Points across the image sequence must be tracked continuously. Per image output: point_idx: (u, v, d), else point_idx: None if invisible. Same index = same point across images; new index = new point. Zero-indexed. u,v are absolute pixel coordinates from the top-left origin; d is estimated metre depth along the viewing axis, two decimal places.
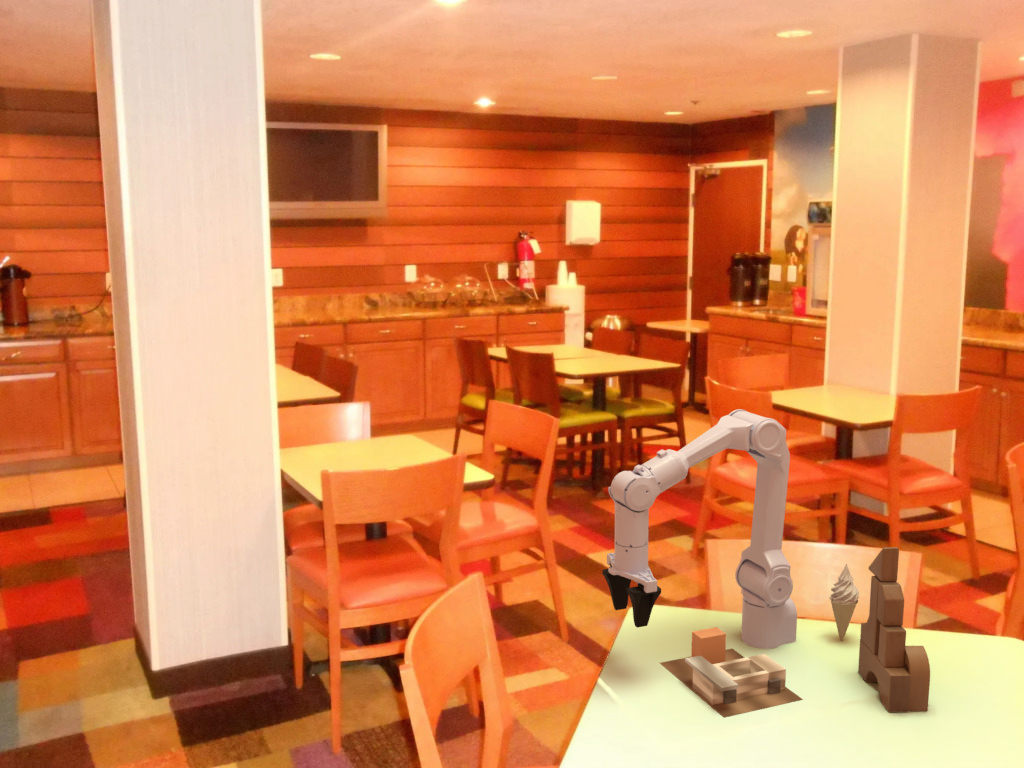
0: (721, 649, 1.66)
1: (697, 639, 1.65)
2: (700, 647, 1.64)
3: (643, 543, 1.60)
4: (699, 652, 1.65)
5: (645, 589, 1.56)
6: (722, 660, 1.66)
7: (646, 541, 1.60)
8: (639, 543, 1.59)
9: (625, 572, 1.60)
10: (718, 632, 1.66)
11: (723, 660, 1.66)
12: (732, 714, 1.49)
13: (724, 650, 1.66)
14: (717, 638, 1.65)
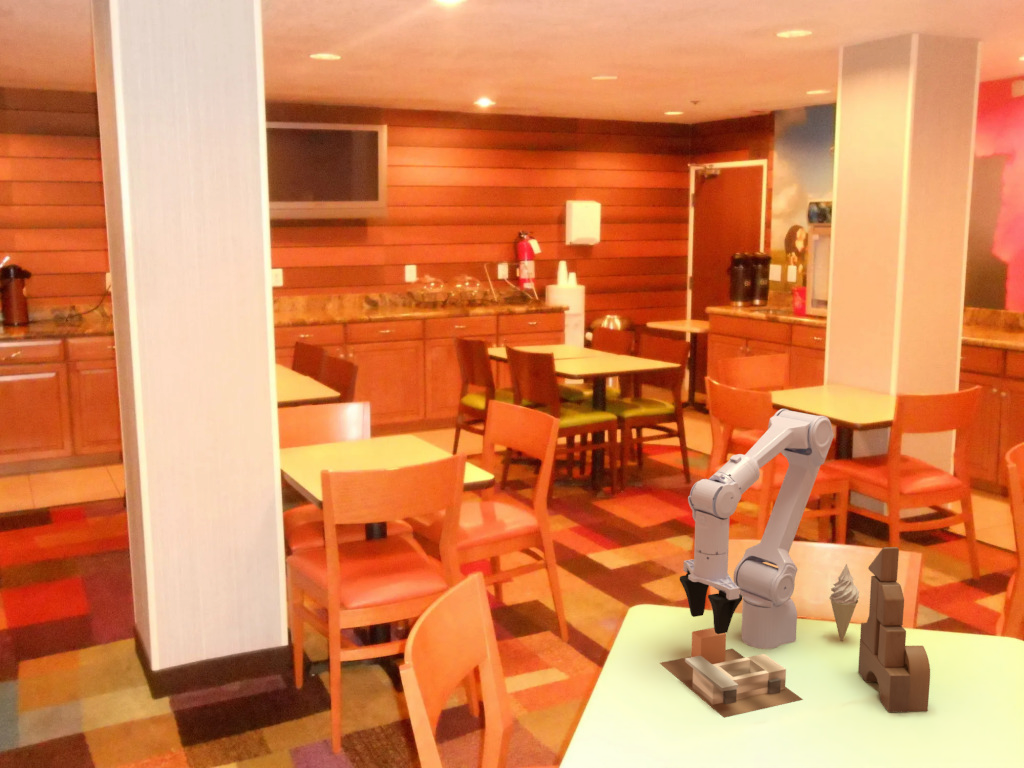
0: (721, 649, 1.66)
1: (697, 639, 1.65)
2: (700, 647, 1.64)
3: (726, 549, 1.62)
4: (699, 652, 1.65)
5: (728, 596, 1.58)
6: (722, 660, 1.66)
7: None
8: (724, 550, 1.61)
9: (706, 579, 1.61)
10: None
11: (723, 660, 1.66)
12: (732, 714, 1.49)
13: (724, 650, 1.66)
14: (717, 638, 1.65)
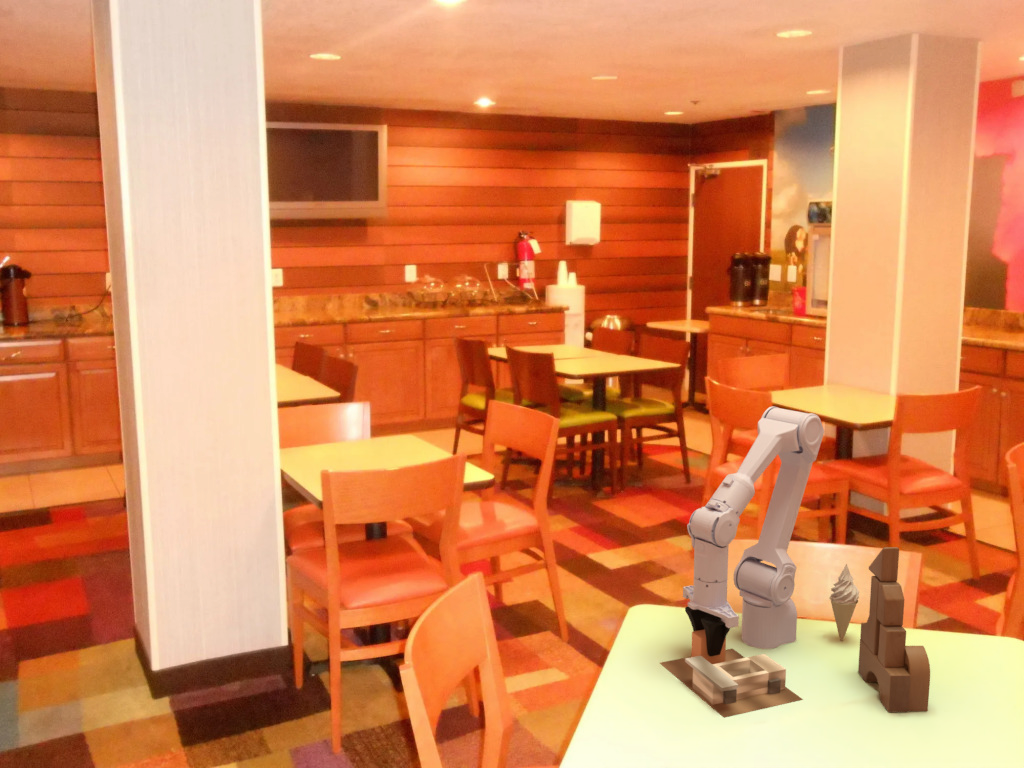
0: None
1: (697, 639, 1.65)
2: (700, 647, 1.64)
3: (726, 577, 1.63)
4: (699, 652, 1.65)
5: (727, 624, 1.59)
6: (722, 660, 1.66)
7: (727, 575, 1.63)
8: (723, 577, 1.62)
9: (705, 607, 1.62)
10: None
11: (723, 660, 1.66)
12: (732, 714, 1.49)
13: (724, 650, 1.66)
14: None
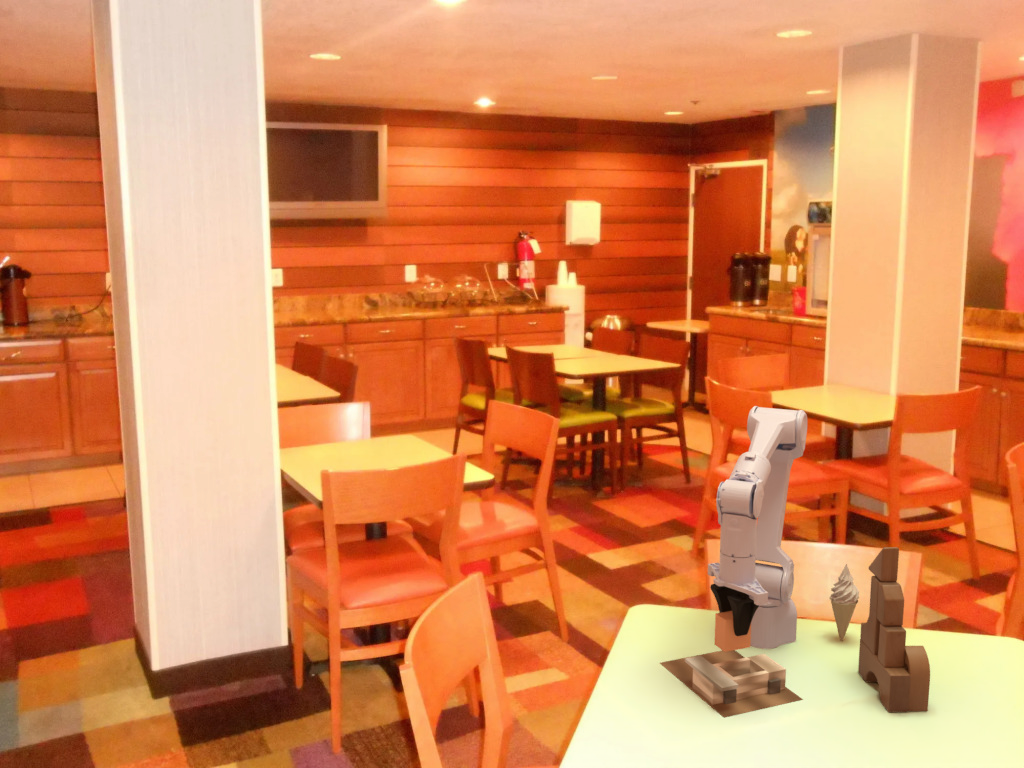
0: None
1: (721, 621, 1.57)
2: (724, 630, 1.56)
3: (755, 550, 1.55)
4: (723, 635, 1.56)
5: (755, 601, 1.50)
6: (747, 644, 1.58)
7: None
8: (755, 551, 1.54)
9: (732, 583, 1.54)
10: None
11: (748, 644, 1.58)
12: (732, 714, 1.49)
13: (749, 633, 1.58)
14: None
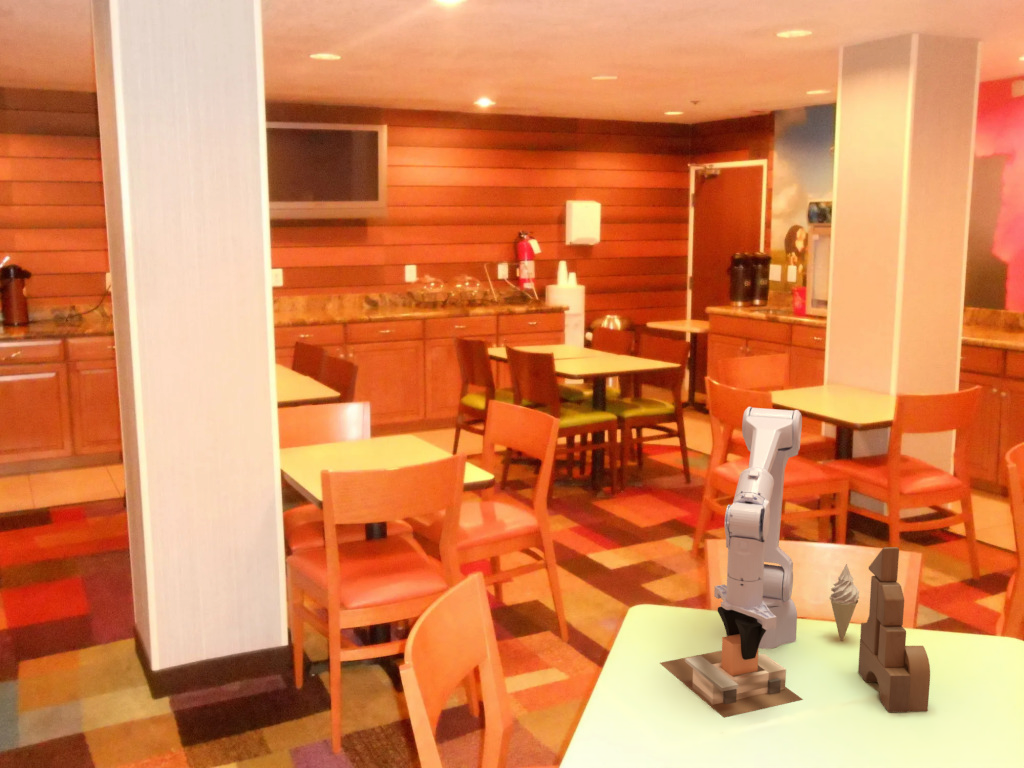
0: None
1: (728, 645, 1.55)
2: (731, 654, 1.54)
3: (763, 572, 1.54)
4: (730, 659, 1.55)
5: (764, 626, 1.49)
6: (754, 667, 1.56)
7: None
8: (763, 573, 1.53)
9: (740, 607, 1.52)
10: None
11: (755, 667, 1.56)
12: (732, 714, 1.49)
13: (756, 657, 1.56)
14: None
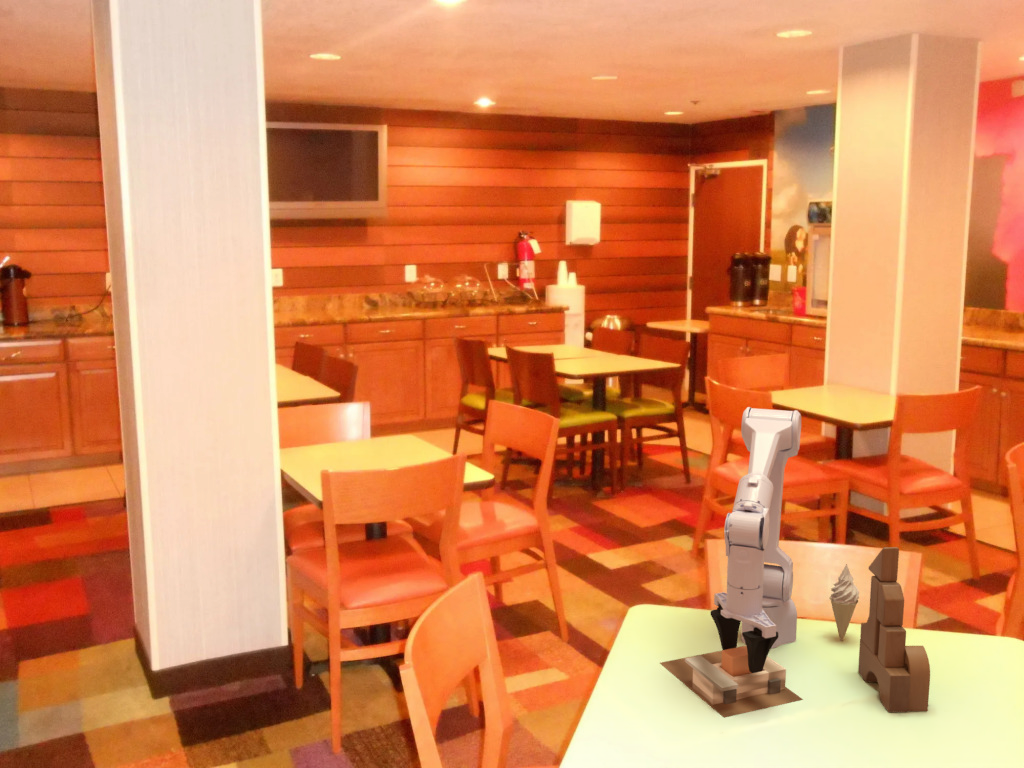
0: None
1: (727, 658, 1.56)
2: (731, 667, 1.55)
3: None
4: (730, 672, 1.55)
5: (764, 634, 1.49)
6: None
7: None
8: (762, 581, 1.53)
9: (740, 615, 1.53)
10: None
11: None
12: (732, 714, 1.49)
13: None
14: None
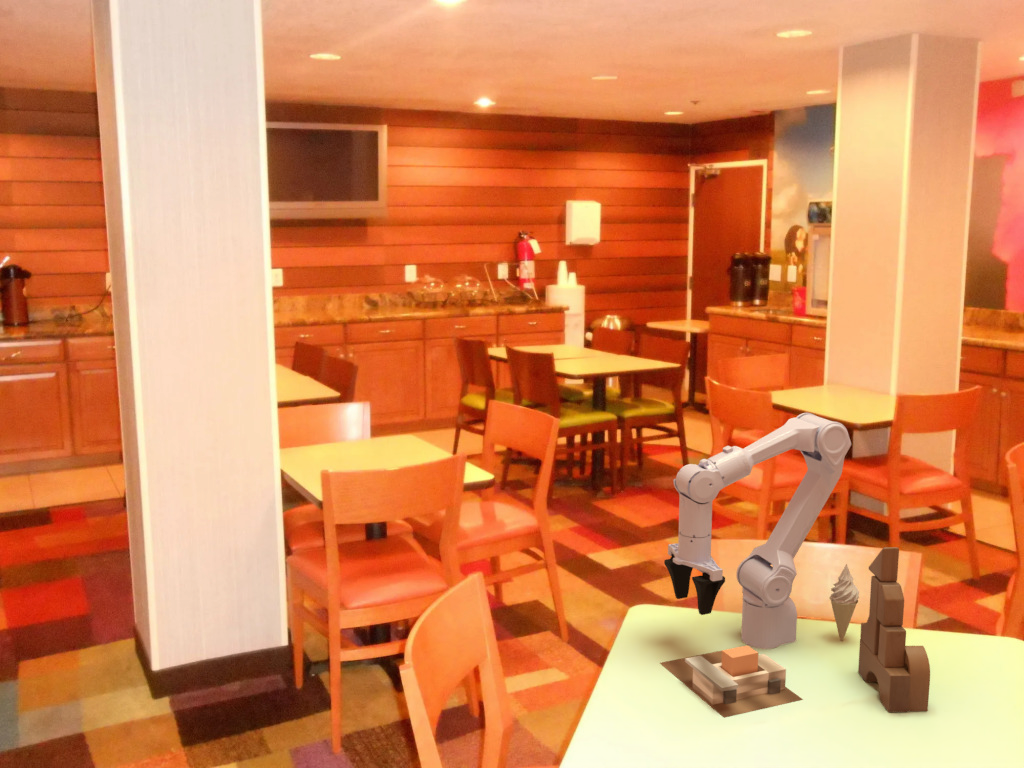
0: (753, 669, 1.56)
1: (727, 658, 1.56)
2: (731, 667, 1.55)
3: (706, 534, 1.66)
4: (730, 672, 1.55)
5: (711, 578, 1.62)
6: None
7: (709, 532, 1.66)
8: (702, 534, 1.65)
9: (690, 562, 1.66)
10: (750, 651, 1.57)
11: None
12: (732, 714, 1.49)
13: (756, 670, 1.57)
14: (749, 657, 1.56)
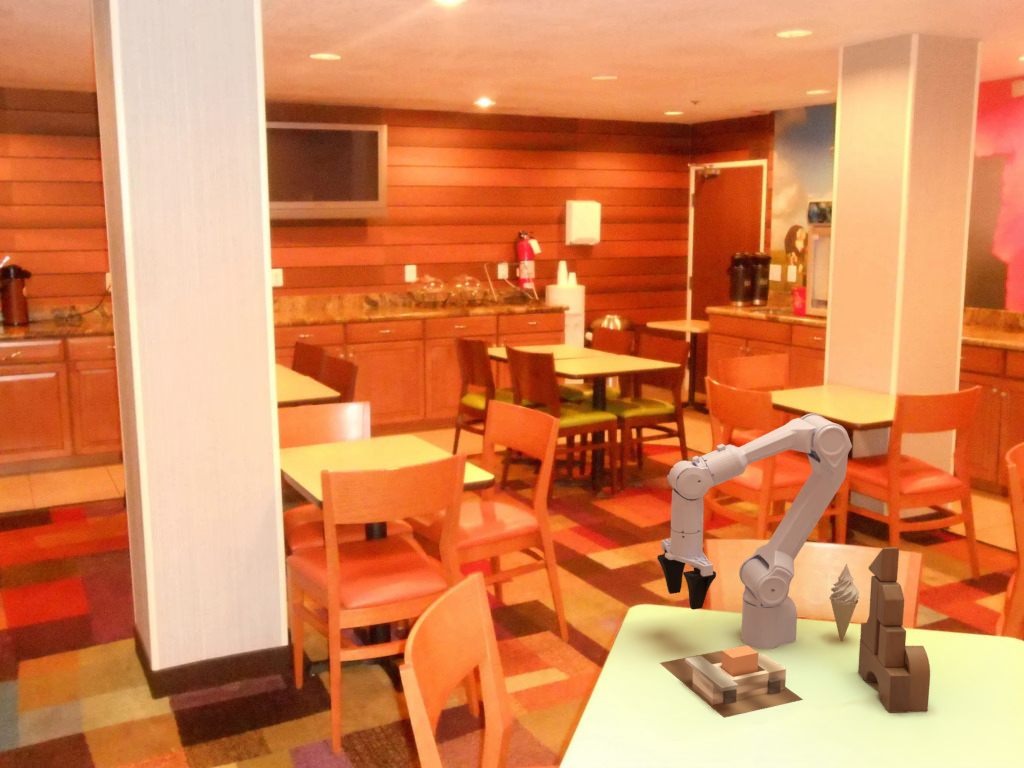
0: (753, 669, 1.56)
1: (727, 658, 1.56)
2: (731, 667, 1.55)
3: (695, 530, 1.68)
4: (730, 672, 1.55)
5: (702, 573, 1.65)
6: None
7: (699, 529, 1.68)
8: (691, 530, 1.68)
9: (681, 557, 1.69)
10: (750, 651, 1.57)
11: None
12: (732, 714, 1.49)
13: (756, 670, 1.57)
14: (749, 657, 1.56)
